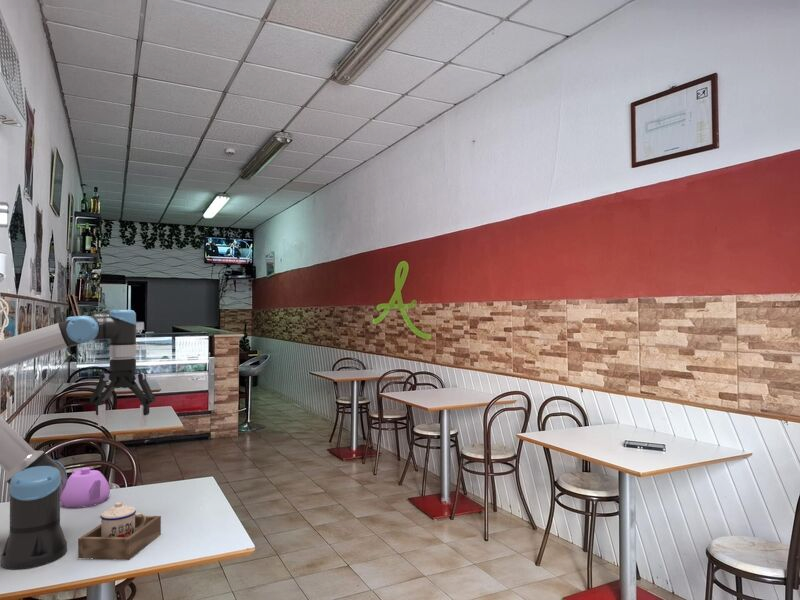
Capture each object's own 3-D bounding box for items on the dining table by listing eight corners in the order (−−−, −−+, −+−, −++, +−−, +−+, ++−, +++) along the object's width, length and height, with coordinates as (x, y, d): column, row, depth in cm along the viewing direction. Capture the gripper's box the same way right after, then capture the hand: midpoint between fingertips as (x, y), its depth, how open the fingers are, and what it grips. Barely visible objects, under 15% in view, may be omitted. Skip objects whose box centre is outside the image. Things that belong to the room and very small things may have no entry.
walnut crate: (78, 558, 150) (78, 538, 150) (114, 533, 167) (114, 515, 167) (129, 559, 149) (129, 539, 149) (160, 534, 166) (160, 515, 167)
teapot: (49, 501, 198) (49, 467, 198) (95, 490, 210) (95, 458, 210) (74, 514, 184) (74, 478, 184) (121, 502, 196) (121, 468, 197)
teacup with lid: (106, 553, 151) (106, 510, 151) (96, 543, 157) (96, 502, 158) (151, 540, 159) (151, 500, 160) (139, 531, 166) (139, 493, 166)
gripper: (166, 357, 177) (166, 423, 177) (92, 357, 179) (91, 423, 178) (155, 359, 170) (154, 428, 169) (77, 359, 171) (76, 427, 170)
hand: (122, 425), depth 174 cm, fingers open, 13 cm apart
